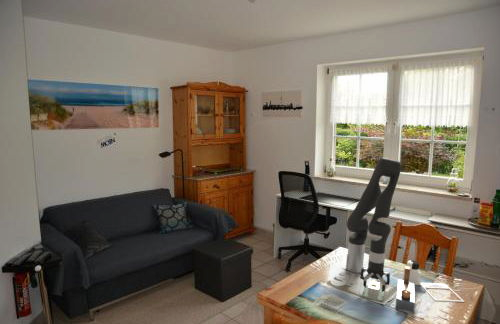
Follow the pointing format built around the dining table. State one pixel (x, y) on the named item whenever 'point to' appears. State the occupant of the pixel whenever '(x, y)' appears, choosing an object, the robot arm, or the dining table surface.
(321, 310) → the dining table surface
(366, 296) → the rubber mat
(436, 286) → the photo frame
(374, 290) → the lever cap
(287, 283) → the dining table surface
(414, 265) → the medicine bottle
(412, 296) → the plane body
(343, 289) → the dining table surface
